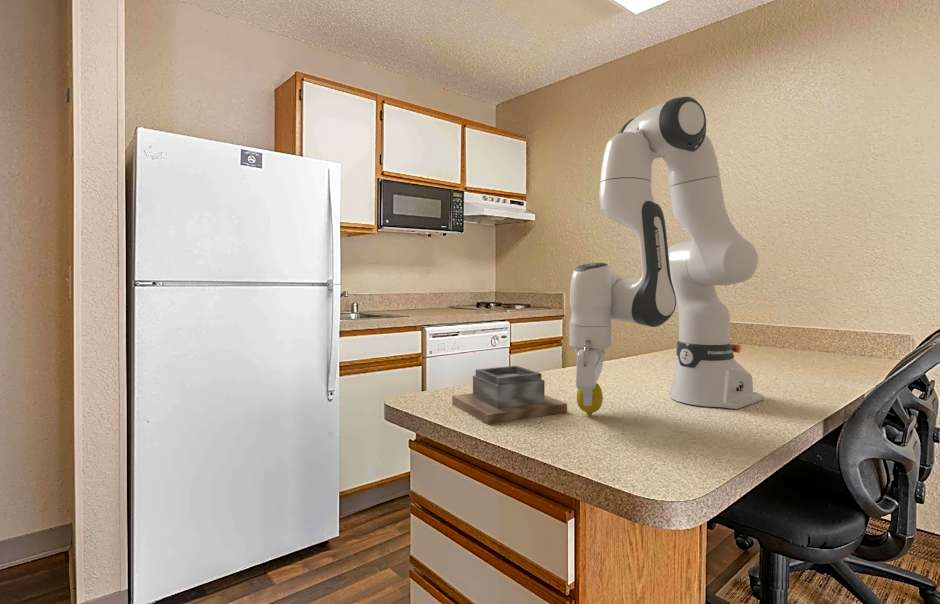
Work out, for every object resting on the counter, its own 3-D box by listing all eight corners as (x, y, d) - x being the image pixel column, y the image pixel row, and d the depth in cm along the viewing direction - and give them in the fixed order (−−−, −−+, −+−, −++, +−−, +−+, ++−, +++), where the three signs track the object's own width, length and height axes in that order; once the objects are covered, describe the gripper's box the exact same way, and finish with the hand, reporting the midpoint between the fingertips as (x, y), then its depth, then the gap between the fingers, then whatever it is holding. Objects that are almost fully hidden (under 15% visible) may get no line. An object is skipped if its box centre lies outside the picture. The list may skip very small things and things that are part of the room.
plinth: (523, 394, 127) (523, 361, 126) (566, 412, 111) (567, 374, 110) (452, 404, 118) (452, 368, 118) (487, 424, 102) (487, 383, 101)
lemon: (597, 420, 105) (598, 382, 104) (572, 416, 108) (572, 379, 107) (605, 414, 109) (606, 378, 109) (581, 410, 112) (582, 375, 112)
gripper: (601, 345, 97) (600, 415, 97) (608, 333, 116) (607, 391, 117) (568, 343, 99) (568, 412, 99) (580, 332, 118) (580, 389, 119)
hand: (589, 401), depth 108 cm, fingers closed on lemon, 5 cm apart
